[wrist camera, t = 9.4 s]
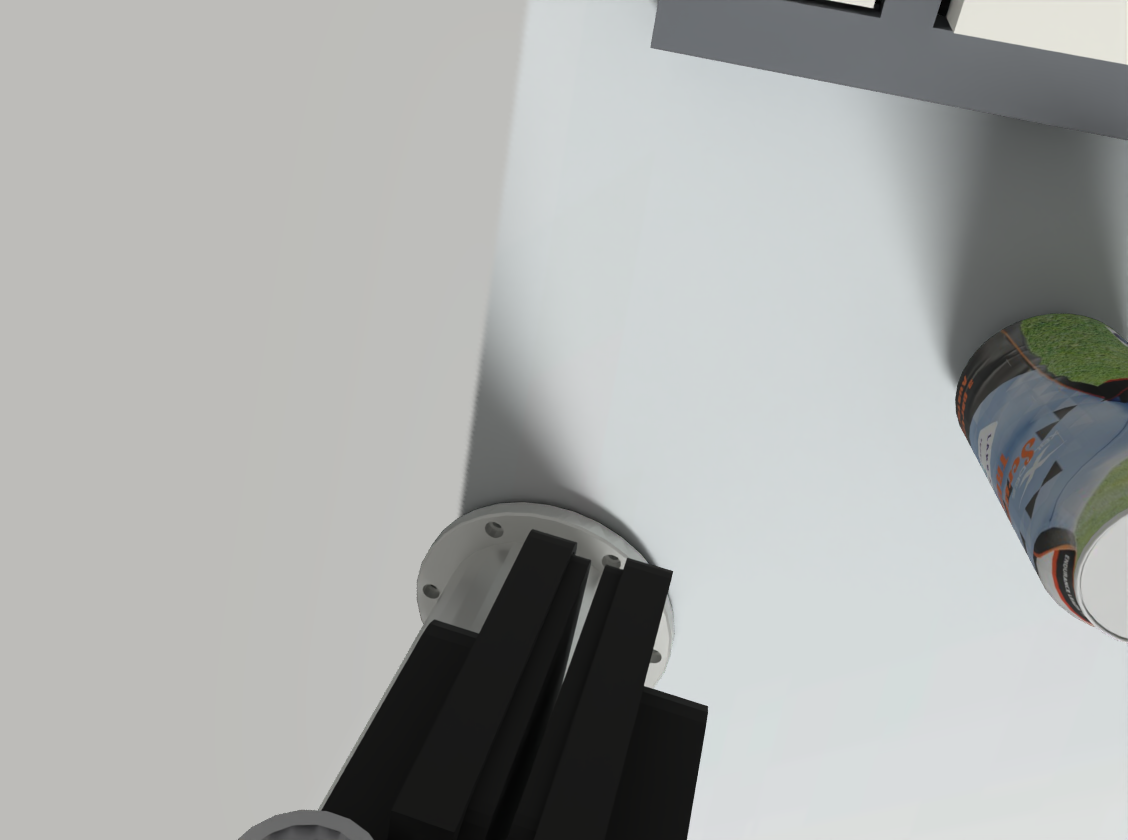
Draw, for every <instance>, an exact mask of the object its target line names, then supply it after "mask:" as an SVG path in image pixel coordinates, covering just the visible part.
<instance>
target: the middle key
mask: <svg viewBox="0 0 1128 840" xmlns="http://www.w3.org/2000/svg"><path fill="white" fill-rule="evenodd" d="M946 18H947V20H948V22H949V24H950V26H951V28H952V30H953V33H956V34H962V35H967V36H973V37H978V38H983V39H989V40H994V41H1000V42H1005V43H1011V44H1016V45H1022V46H1027V47H1033V48H1038V49H1044V50H1049V51H1055V52H1060V53H1066V54H1071V55H1077V56H1082V57H1088V58H1093V59H1099V60H1104V61H1110V62H1115V63H1121V64H1126V65H1128V0H951V3H950V6H949V9H948V12H947V15H946Z"/></svg>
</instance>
